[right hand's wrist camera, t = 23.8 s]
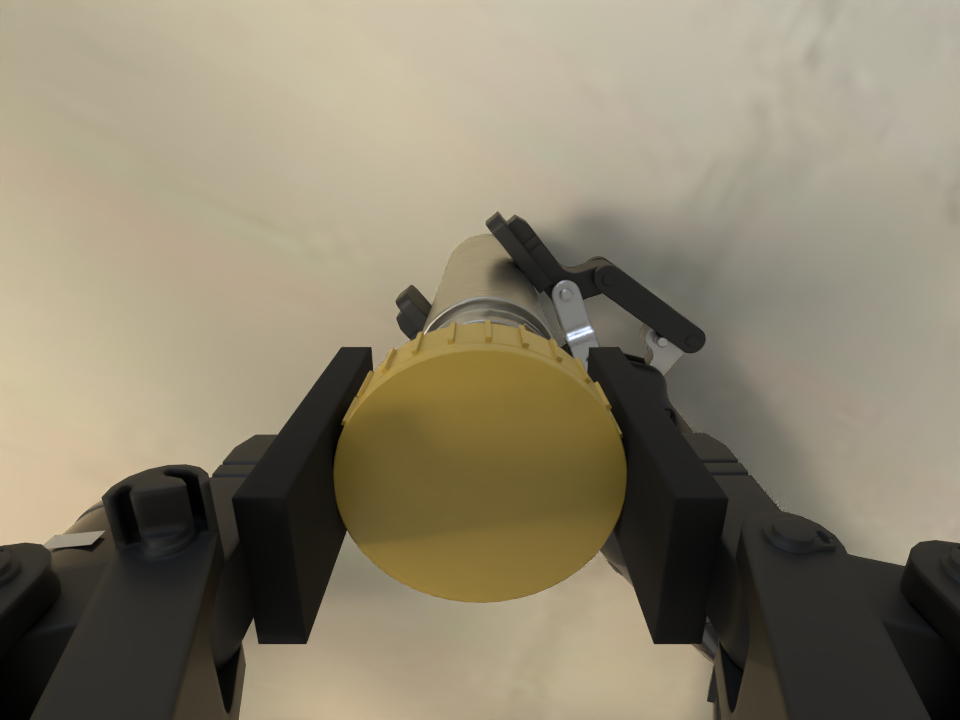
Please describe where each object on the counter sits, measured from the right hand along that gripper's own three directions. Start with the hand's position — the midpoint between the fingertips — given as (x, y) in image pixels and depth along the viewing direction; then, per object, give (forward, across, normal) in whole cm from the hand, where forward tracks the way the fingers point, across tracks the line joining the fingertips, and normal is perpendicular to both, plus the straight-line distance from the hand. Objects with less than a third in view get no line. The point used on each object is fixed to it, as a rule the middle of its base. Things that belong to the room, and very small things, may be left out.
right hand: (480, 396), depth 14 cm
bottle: (+18, 0, 0) cm, 18 cm away
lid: (-4, 0, 0) cm, 4 cm away
